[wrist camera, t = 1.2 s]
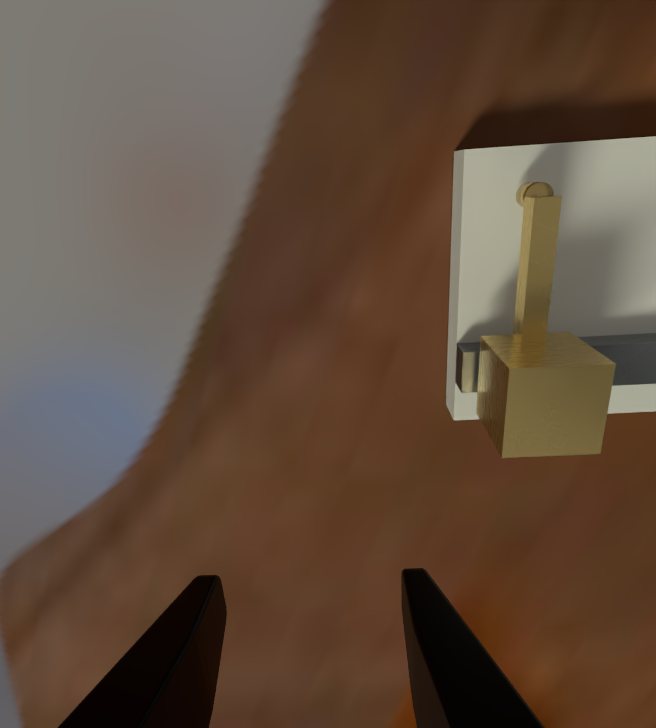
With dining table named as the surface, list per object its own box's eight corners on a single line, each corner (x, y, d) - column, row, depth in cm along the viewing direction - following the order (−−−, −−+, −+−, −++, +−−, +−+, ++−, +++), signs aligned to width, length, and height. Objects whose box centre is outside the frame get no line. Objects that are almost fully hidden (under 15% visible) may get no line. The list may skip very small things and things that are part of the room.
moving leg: (576, 178, 15) (647, 180, 12) (549, 399, 18) (600, 453, 15) (482, 184, 15) (524, 188, 12) (470, 403, 18) (501, 457, 15)
